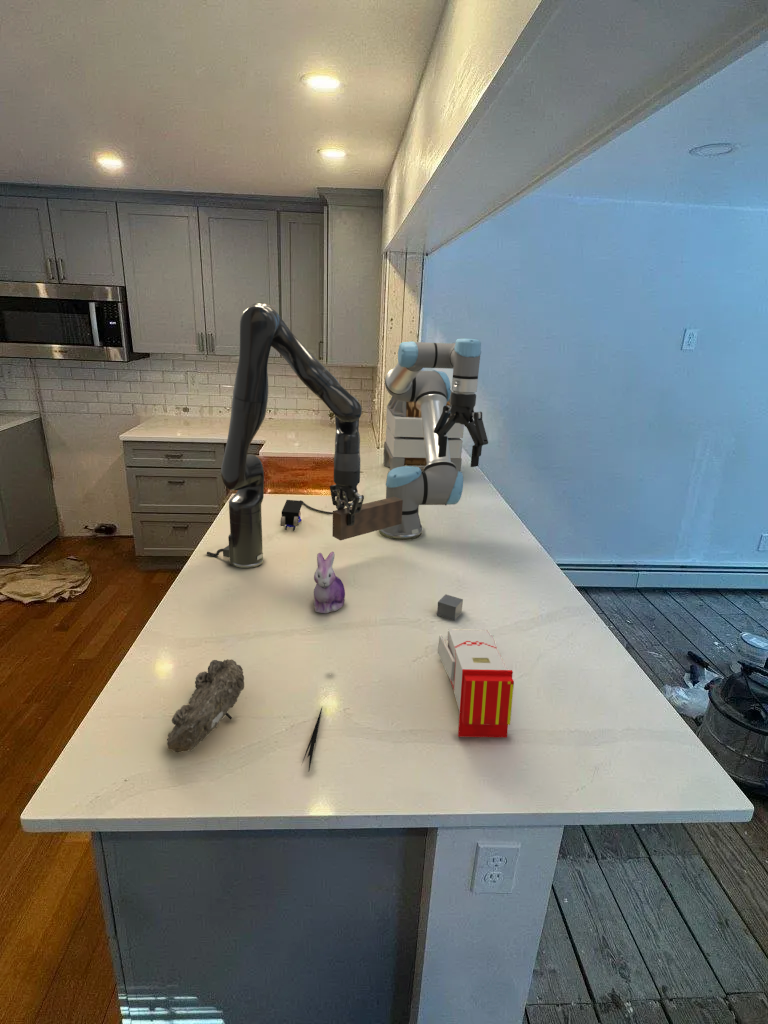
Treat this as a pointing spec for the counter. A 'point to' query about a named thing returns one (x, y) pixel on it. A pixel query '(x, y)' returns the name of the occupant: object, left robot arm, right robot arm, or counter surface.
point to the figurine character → (291, 514)
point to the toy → (478, 682)
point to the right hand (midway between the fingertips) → (457, 461)
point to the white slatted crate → (414, 436)
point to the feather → (313, 740)
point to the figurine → (327, 586)
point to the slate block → (449, 607)
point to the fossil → (206, 705)
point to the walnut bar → (368, 518)
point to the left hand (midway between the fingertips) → (345, 522)
